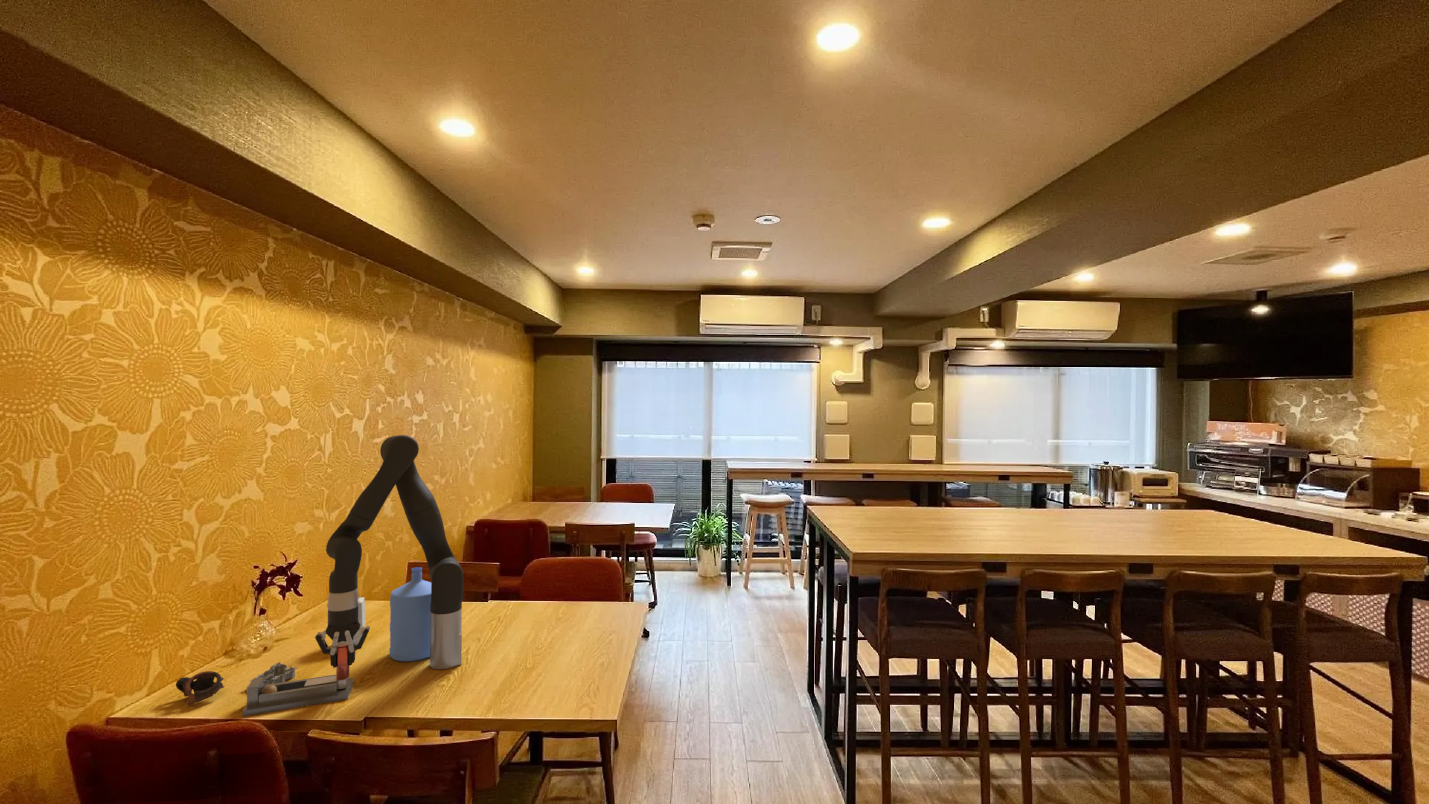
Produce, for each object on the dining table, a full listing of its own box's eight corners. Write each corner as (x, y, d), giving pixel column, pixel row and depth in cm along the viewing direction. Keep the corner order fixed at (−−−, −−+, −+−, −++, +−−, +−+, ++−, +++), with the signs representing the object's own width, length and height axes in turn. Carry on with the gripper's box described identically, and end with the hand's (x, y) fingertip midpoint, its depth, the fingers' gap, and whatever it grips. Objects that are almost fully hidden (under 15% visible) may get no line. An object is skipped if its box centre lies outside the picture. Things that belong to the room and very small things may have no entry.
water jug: (421, 664, 192) (421, 576, 192) (378, 660, 195) (378, 573, 195) (451, 645, 207) (452, 563, 207) (411, 641, 210) (412, 561, 210)
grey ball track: (353, 682, 179) (353, 660, 179) (347, 699, 169) (348, 676, 169) (254, 697, 169) (254, 674, 169) (242, 716, 159) (242, 692, 159)
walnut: (278, 694, 169) (278, 681, 169) (275, 700, 165) (275, 686, 165) (262, 696, 167) (262, 683, 167) (259, 702, 164) (259, 689, 164)
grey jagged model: (280, 673, 185) (280, 660, 185) (300, 676, 183) (300, 663, 183) (246, 689, 175) (246, 675, 175) (267, 693, 173) (267, 678, 173)
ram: (350, 681, 176) (350, 642, 176) (348, 687, 172) (348, 647, 172) (307, 688, 172) (307, 648, 172) (303, 694, 168) (304, 653, 168)
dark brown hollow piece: (232, 689, 176) (232, 670, 172) (209, 719, 167) (208, 699, 164) (187, 681, 173) (185, 662, 170) (161, 711, 165) (159, 691, 162)
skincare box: (366, 638, 212) (366, 596, 212) (362, 645, 206) (363, 601, 206) (338, 641, 209) (338, 598, 209) (334, 648, 203) (334, 604, 203)
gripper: (372, 598, 180) (372, 656, 180) (316, 604, 174) (316, 664, 174) (369, 606, 173) (369, 666, 173) (311, 613, 167) (311, 675, 167)
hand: (342, 665), depth 173 cm, fingers closed on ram, 3 cm apart
